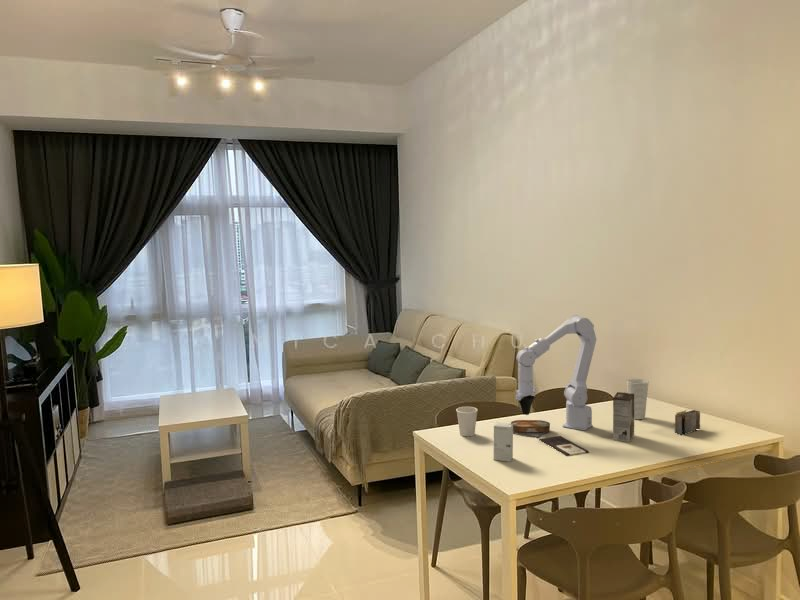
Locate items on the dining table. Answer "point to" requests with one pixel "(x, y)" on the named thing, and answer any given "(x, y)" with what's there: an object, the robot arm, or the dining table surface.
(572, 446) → the chocolate bar
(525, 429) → the tin
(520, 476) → the dining table surface
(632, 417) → the coffee box
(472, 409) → the dixie cup
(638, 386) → the cup
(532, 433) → the mat
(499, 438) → the skincare box
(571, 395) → the robot arm
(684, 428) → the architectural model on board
